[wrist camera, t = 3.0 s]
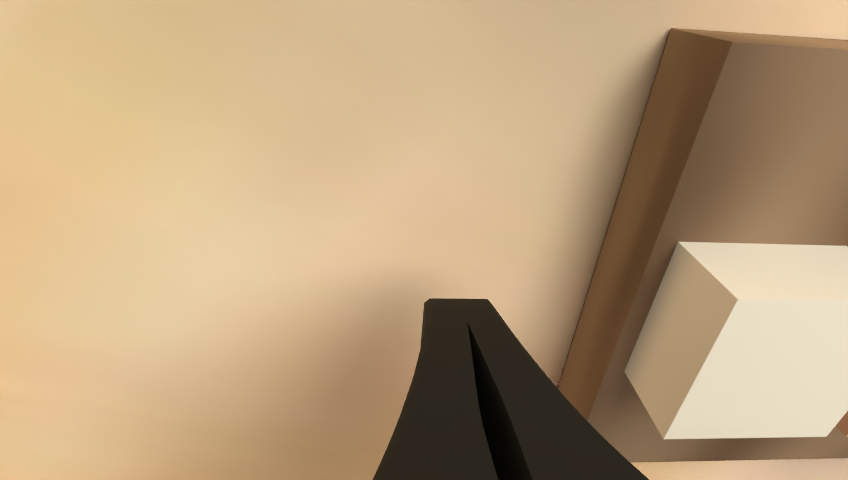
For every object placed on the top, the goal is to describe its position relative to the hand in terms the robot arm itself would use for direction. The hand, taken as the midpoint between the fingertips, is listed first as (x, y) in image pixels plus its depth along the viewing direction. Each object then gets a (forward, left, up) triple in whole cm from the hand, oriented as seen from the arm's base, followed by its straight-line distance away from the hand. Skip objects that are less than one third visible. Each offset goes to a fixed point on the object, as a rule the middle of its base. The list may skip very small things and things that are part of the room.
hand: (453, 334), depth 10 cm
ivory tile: (+7, 0, -1) cm, 7 cm away
